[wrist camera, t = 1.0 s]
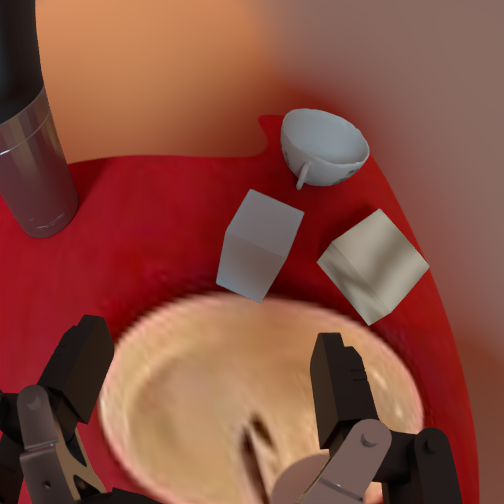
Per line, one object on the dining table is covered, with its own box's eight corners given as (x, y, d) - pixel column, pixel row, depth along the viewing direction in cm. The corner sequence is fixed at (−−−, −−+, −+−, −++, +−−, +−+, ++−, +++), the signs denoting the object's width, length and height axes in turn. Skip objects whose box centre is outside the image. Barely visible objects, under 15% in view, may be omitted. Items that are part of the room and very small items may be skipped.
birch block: (315, 263, 36) (332, 241, 32) (362, 229, 40) (379, 208, 36) (367, 326, 33) (391, 312, 29) (407, 283, 37) (429, 266, 33)
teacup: (289, 135, 48) (303, 97, 41) (355, 171, 46) (376, 135, 39) (246, 185, 40) (257, 140, 33) (328, 231, 39) (354, 192, 32)
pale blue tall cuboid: (215, 283, 32) (225, 231, 24) (235, 246, 35) (250, 188, 26) (260, 303, 32) (286, 258, 23) (276, 264, 35) (304, 212, 26)
